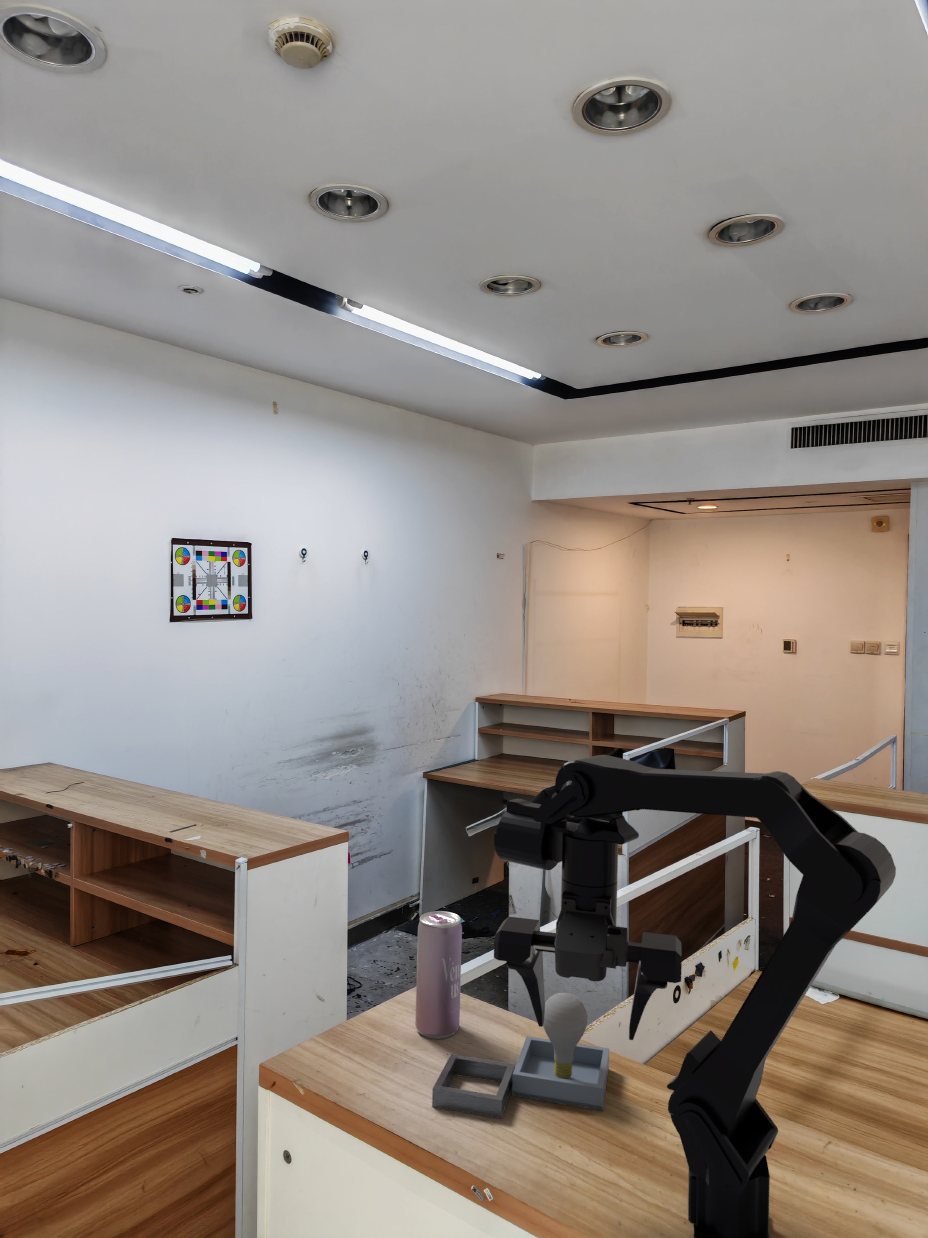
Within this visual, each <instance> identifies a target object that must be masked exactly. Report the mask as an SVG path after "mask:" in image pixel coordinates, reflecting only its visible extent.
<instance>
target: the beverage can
mask: <svg viewBox="0 0 928 1238" xmlns="http://www.w3.org/2000/svg"><path fill="white" fill-rule="evenodd" d="M461 920H462V919H461V916H460V915H458V914H456V913H453V912H450V911H443V910H437V911H436V910H435V911H429V912H424V913H423V914H421V915H420V917H419V923H418V926H417V949H416V952H417V953H416V956H417V957H416V988H415V989H416V990H415V992H416V993H415V1023H414V1024H415V1027H416V1030H417V1031H418V1033H419V1034H420V1035H421V1036H423V1037H425V1038H429V1039H435V1040H438V1039H439V1040H441V1039H446V1038H449V1037H452V1036H453V1035H455V1034H456V1032H457V1031H458V1029H459V1027H460V1021H461V1020H460V1014H461V1013H460V1012H461V982H462V981H461V979H462V978H461V977H462V976H461V975H462V973H461V972H462V938H463V937H462V936H463V926H462V923H461Z"/></svg>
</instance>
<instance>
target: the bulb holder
mask: <svg viewBox="0 0 928 1238" xmlns="http://www.w3.org/2000/svg"><path fill="white" fill-rule="evenodd" d="M515 1067H516V1064H515V1063H510V1062H504V1061H499V1060H498V1061H497V1060H490V1059H485V1058H479V1057H471V1056H465V1055H459V1054H454V1053H450V1056H449V1058H448V1059H447V1061H446V1062H445V1065H444V1066H443V1068H442V1070H441V1072H440V1074H439V1076H438V1078H437V1080H436V1081H435V1083H434V1085H433V1087H432V1094H431V1095H432V1097H431V1098H432V1099H431V1100H432V1101H431V1106H432V1107H433V1108H439V1109H445V1110H450V1111H456V1112H461V1113H465V1114H466V1113H467V1114H472V1115H478V1116H483V1117H491V1118H496V1119H502V1118H503V1115H504V1112H505V1109H506V1107H507V1104H508V1102H509V1099H510V1095H511V1094H512V1084H513V1072H514V1069H515ZM455 1076H459V1077H460V1076H461V1077H464V1078H465V1077H467V1078H472V1079H473V1078H474V1079H478V1080H484V1081H490V1082H496V1083H500V1085H499V1086H498V1090H497V1092H496V1094H491V1093H484V1092H480V1091H479V1092H478V1091H473V1090H468V1089H462V1088H461V1089H460V1088H456V1087H455V1088H454V1087H450V1086H451V1085H452V1083H453V1080H454V1078H455Z"/></svg>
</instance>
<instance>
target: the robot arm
mask: <svg viewBox="0 0 928 1238" xmlns="http://www.w3.org/2000/svg"><path fill="white" fill-rule="evenodd" d="M554 783H555V784H554V787H553V788H552V790H551V791H550V792H549V793H548V795H547V797H545V799H544V800H543V802H542V803H541V804H540V803H534V802H531V801H529V800H526V799H523V798H514V799H511V800H507V802H506V811H505V812H504V814H502V815H501V818H500V820H499V822H498V824H497V828H496V831H495V832H494V833H493V834H494V835H493V845H494V850H495V853H496V855H497V857H498V858H499V859H500V860H502V861H504V862H509V863H513V864H516V865H517V864H518V865H522V866H526V867H532V868H535V869H540V870H544V871H552V870H553V869H555V868H556V867H557V865H558V864H559V863H561V881H560V882H561V884H560V886H561V887H560V912H559V914H558V917H557V919H556V923H555V932H551V931H550V932H549V931H543V930H542V931H541V924H540V923H541V922H540V920H539V919H533V918H525V917H516V916H508V917H507V918H505V919H504V920H503V922H502V923H501V925H500V926H499V928H498V930H497V931H496V933H495V935H494V940H493V941H494V942H493V958H494V959H495V960H497V961H501V962H505V963H506V965H505V966H506V968H508V969H509V970H514V971H516V973H518V975H519V976H520V977H521V978H522V981H523V983H524V985H525V988H526V990H527V993H528V995H529V999H530V1003H531V1005H532V1009H533V1011H534V1015H535V1019H536V1022H537V1025H538V1027H541V1028H544V1027H543V1024H544V1014H545V1003H546V1001H545V979H544V957H543V956H544V954H543V952H545V953H553V954H554V959H555V960H554V961H555V962H554V966H555V973H556V975H558V976H559V977H560V978H561V977H562V978H565V979H569V978H571V977H572V978H579V979H584V980H585V979H586V980H588V981H590V982H601V981H604V980H605V978H606V977H607V969H615V970H616V969H617V967H624V968H626V967H627V963H634V964H638V967H637V972H636V979H635V985H634V992H633V999H632V1003H631V1004H632V1005H631V1011H630V1018H629V1026H628V1027H629V1028H628V1040H629V1041H634V1038H635V1036H636V1032H637V1031H638V1028H639V1025H640V1022H641V1019H642V1017H643V1013H644V1011H645V1008H646V1006H647V1005H648V1002H649V1000H650V998H651V996H652V995H653V993H654V992H656V990H658V989H660V990H663V989H667V988H668V983H673V984H677V983H680V982H682V967H683V966H682V963H683V962H682V960H683V957H682V955H683V954H682V941H681V940H680V939H679V938H678V936H677V935H675V934H673V935H672V934H664V933H657V932H645V931H642V935H641V936H642V937H641V942H634V941H628V940H629V935H628V934H629V932H628V931H629V929H628V928H627V927H625V926H623V927H622V926H617V917H618V916H617V913H618V911H617V909H618V908H617V907H618V906H617V905H618V870H619V869H618V867H619V866H618V865H619V864H618V863H619V845H622V846H623V845H625V844H627V843H630V842H632V841H634V840H637V839H639V837H640V834H639V832H638V831H637V830H636V829H635V828H634V827H633V826H632V825H631V824H630V823H629V822H628V821H627V819H626V817H625V816H624V815H623V814H620V813H626V812H632V811H633V812H634V811H640V810H645V811H646V810H649V811H660V812H661V811H662V812H672V813H673V812H674V813H676V812H677V813H688V814H689V813H690V814H700V815H713V816H727V817H738V818H739V817H741V818H750V819H751V818H753V819H758V821H760V822H761V824H762V825H763V826H764V827H765V828H766V829H767V831H768V832H769V833H770V834H771V836H772V838H773V840H774V841H775V842H776V844H777V845H778V846H779V848H780V850H781V852H782V853H783V855H784V856H785V858H786V859H787V860H788V861H789V862H790V863H791V865H793V867H795V868H796V869H797V871H798V872H800V874H802V877H801V881H800V883H799V887H798V889H797V892H796V895H795V900H794V906H793V912H792V916H791V920H790V923H789V926H788V927H787V928H786V931H785V932H784V934H783V936H782V937H781V939H780V940H779V943H778V944H777V945H776V948H775V949H774V951H773V952H772V954H771V955H770V958H769V959H768V961H767V963H766V965H764V968H763V969H762V970H761V971H762V972H761V973H760V974H759V976H758V977H757V979H756V981H755V983H754V984H753V987H752V988H751V990H750V991H749V993H748V995H747V996H746V998H745V999H744V1000H743V1001H744V1002H743V1003H742V1005H741V1007H740V1008H739V1010H738V1011H737V1013H736V1015H735V1017H734V1018H733V1019H732V1021H731V1023H730V1025H729V1027H728V1028H727V1030H726V1031H725V1034H724V1036H723V1037H722V1039H720V1038H719V1037H718V1036H717V1035H716V1033H714V1031H713V1030H711V1029H710V1030H709V1031H708V1032H707V1033H706V1034H705V1035H703V1036H702V1038H701V1039H700V1040H699V1041H697V1043H696V1044H695V1045H693V1047H692V1048H691V1049H690V1050H689V1051H688V1052H687V1053H686V1054H685V1056H684V1059H683V1061H682V1064H681V1068H680V1071H679V1072H678V1074H677V1075H676V1076H674V1077H673V1078H672V1080H670V1081H669V1083H668V1084H667V1085H666V1088H667V1090H671V1091H673V1092H672V1093H671V1094H670V1096H669V1099H668V1102H667V1111H668V1113H669V1115H670V1119H671V1123H672V1124H673V1126H674V1128H675V1129H676V1130H675V1131H676V1132H677V1133H678V1135H679V1138H680V1142H681V1145H682V1149H683V1152H684V1155H685V1158H686V1163H687V1165H688V1166H687V1167H688V1178H687V1179H688V1181H687V1183H688V1185H687V1187H688V1188H687V1219H688V1222H689V1223H690V1224H693V1238H771V1237H770V1232H769V1231H770V1230H769V1228H770V1226H769V1225H770V1183H771V1180H770V1179H771V1177H770V1176H771V1175H770V1171H769V1170H770V1169H769V1164H768V1160H767V1156H766V1154H767V1152H768V1151H769V1150H770V1149H772V1147H773V1144H774V1142H775V1140H776V1137H777V1135H778V1133H779V1128H778V1126H777V1125H776V1124H775V1122H774V1121H773V1120H772V1118H771V1117H770V1115H769V1114H768V1113H767V1111H766V1109H764V1107H763V1106H762V1104H761V1103H760V1102H759V1101H758V1099H757V1095H758V1091H759V1090H760V1087H761V1083H762V1080H763V1079H762V1078H763V1074H764V1069H765V1063H766V1060H767V1058H768V1056H769V1054H770V1052H771V1051H772V1049H773V1048H774V1046H775V1044H776V1043H777V1041H778V1040H779V1038H780V1036H782V1034H783V1032H784V1030H785V1029H786V1027H787V1025H788V1024H789V1023H790V1020H791V1018H792V1017H793V1016H794V1014H795V1012H796V1010H797V1009H798V1007H799V1006H800V1004H801V1002H802V1000H803V999H804V997H805V995H806V994H807V992H808V991H809V989H810V988H811V986H812V984H813V983H814V981H815V980H816V979H817V977H818V975H819V973H820V972H821V970H822V968H823V966H824V965H825V963H826V962H827V960H828V958H829V957H830V955H831V954H832V952H833V950H834V949H835V947H836V946H837V945H838V944H839V942H840V941H842V940H843V938H845V936H846V935H847V934H848V933H849V932H851V930H852V929H853V928H854V927H855V926H856V925H857V924H858V923H859V922H860V921H861V920H863V918H864V916H867V914H868V913H869V912H870V911H871V910H872V909H873V908H874V906H875V905H876V904H877V903H878V902H879V901H880V900H881V899H882V897H883V896H884V895H885V893H887V892H888V890H889V889H890V887H892V885H893V883H894V880H895V878H896V874H897V872H896V871H897V870H896V869H897V867H896V865H895V862H894V859H893V856H892V854H891V853H890V851H889V849H888V848H887V847H886V845H885V844H883V842H882V841H880V840H879V839H877V838H876V837H874V836H872V835H869V834H867V833H866V832H860V831H858V830H857V829H856V828H855V827H853V825H852V824H850V823H849V822H848V821H847V819H845V818H844V817H843V816H842V815H840V814H839V812H837V811H835V810H834V809H833V808H831V807H830V806H828V805H827V804H826V803H824V802H823V801H821V800H820V799H818V798H817V797H816V796H814V795H813V794H812V793H811V792H810V791H808V790H807V789H806V788H805V787H804V786H803V785H802V784H801V783H800V782H799V781H798V780H797V779H796V778H795V777H794V776H792V775H791V774H789V773H788V772H784V771H779V770H778V771H775V770H774V771H771V772H766V773H765V772H761V773H759V772H738V771H717V770H716V771H714V770H695V769H673V768H672V769H671V768H666V769H665V768H656V767H655V768H654V767H650V766H646V765H643V764H640V763H638V762H636V761H633V760H629V759H625V758H621V757H617V756H611V755H609V754H599V755H598V754H597V755H593V756H587V757H584V758H579V759H574V760H569V761H567V762H564V763H563V764H562V767H560V769H559V770H558V771H557V774H556V777H555V782H554ZM614 814H620V815H617V816H615V817H612V818H611V819H610V820H603V819H599V818H593V817H598V816H606V815H607V816H608V815H614ZM575 817H576V818H583V819H582V820H581V821H580V822H579V823H577V822H573V821H568V820H567V819H571V818H575Z"/></svg>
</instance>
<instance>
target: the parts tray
mask: <svg viewBox="0 0 928 1238" xmlns="http://www.w3.org/2000/svg"><path fill="white" fill-rule="evenodd" d="M523 1042H524V1043H523V1045H522V1048H521V1050H520V1054H519V1056H518V1059H517V1062H516V1064H515V1069H514V1072H513V1084H512V1090H511V1095H512V1097H518V1098H522V1099H530V1100H536V1101H542V1102H548V1103H554V1104H557V1105H558V1104H560V1105H564V1106H565V1105H566V1106H571V1107H578V1108H583V1109H589V1110H595V1111H600V1112H603V1110H604V1104H605V1103H604V1102H605V1096H606V1091H605V1090H607V1084H606V1083H608V1076H609V1071H610V1070H609V1069H610V1048H609V1047H601V1046H597V1045H596V1046H594V1045H587V1044H582V1043H578V1044H577V1045H576V1047H575V1049H574V1052H573V1061H572V1075H571V1077H569V1078H567V1079H561V1078H558V1077H557V1076H556V1075H555V1074H554V1068H555V1067H554V1065H555V1063H554V1062H555V1060H554V1047H553V1045H552V1043H551V1041H550V1039H549V1038H548V1039H547V1038H541V1037H534V1036H528V1035H527V1036H526V1037H525V1040H524V1041H523ZM608 1070H609V1071H608Z"/></svg>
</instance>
